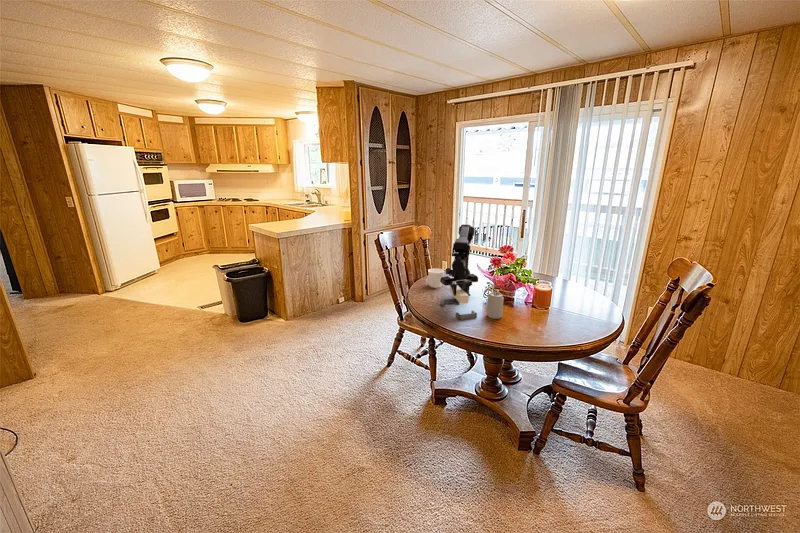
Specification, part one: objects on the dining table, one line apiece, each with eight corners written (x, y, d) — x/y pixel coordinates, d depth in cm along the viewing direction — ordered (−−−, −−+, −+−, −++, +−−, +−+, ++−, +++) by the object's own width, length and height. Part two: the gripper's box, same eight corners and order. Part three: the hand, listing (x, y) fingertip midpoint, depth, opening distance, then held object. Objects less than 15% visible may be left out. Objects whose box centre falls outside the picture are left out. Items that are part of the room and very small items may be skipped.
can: (502, 314, 168) (504, 292, 164) (501, 320, 161) (503, 297, 158) (487, 312, 170) (488, 290, 167) (485, 318, 163) (487, 295, 160)
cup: (425, 283, 213) (426, 268, 210) (440, 282, 215) (441, 268, 212) (430, 288, 204) (430, 273, 201) (445, 287, 205) (446, 272, 203)
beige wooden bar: (456, 291, 178) (456, 284, 177) (468, 302, 163) (468, 295, 162) (449, 292, 177) (449, 285, 176) (460, 303, 162) (461, 295, 161)
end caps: (456, 301, 184) (456, 297, 183) (476, 317, 164) (476, 313, 163) (440, 303, 181) (440, 299, 180) (459, 320, 161) (459, 315, 160)
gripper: (468, 260, 176) (466, 288, 180) (436, 263, 170) (435, 291, 175) (479, 266, 166) (477, 295, 170) (445, 269, 160) (444, 299, 164)
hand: (458, 295), depth 170 cm, fingers closed on beige wooden bar, 4 cm apart
